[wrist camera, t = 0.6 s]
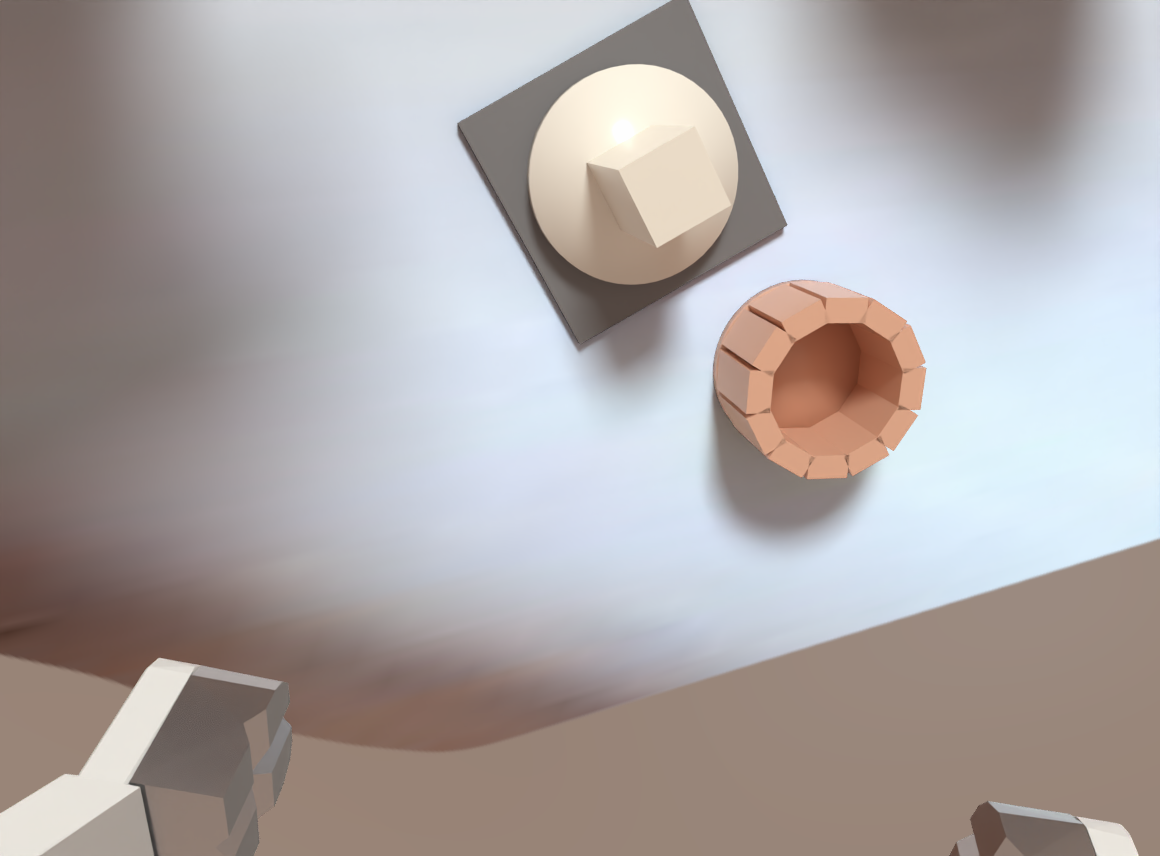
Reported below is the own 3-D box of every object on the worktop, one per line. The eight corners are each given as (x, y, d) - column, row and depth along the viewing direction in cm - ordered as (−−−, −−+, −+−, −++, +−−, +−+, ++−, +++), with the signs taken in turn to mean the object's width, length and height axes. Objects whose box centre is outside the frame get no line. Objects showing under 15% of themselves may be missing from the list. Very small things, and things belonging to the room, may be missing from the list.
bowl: (685, 334, 50) (717, 359, 45) (836, 247, 50) (884, 262, 45) (755, 473, 53) (792, 510, 48) (897, 391, 53) (949, 420, 48)
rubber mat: (457, 123, 44) (458, 123, 44) (682, -6, 44) (685, -8, 44) (578, 342, 49) (580, 344, 48) (783, 224, 49) (787, 225, 48)
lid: (488, 132, 44) (506, 135, 37) (675, 24, 44) (732, 5, 37) (588, 317, 48) (623, 354, 40) (762, 217, 48) (829, 235, 40)
